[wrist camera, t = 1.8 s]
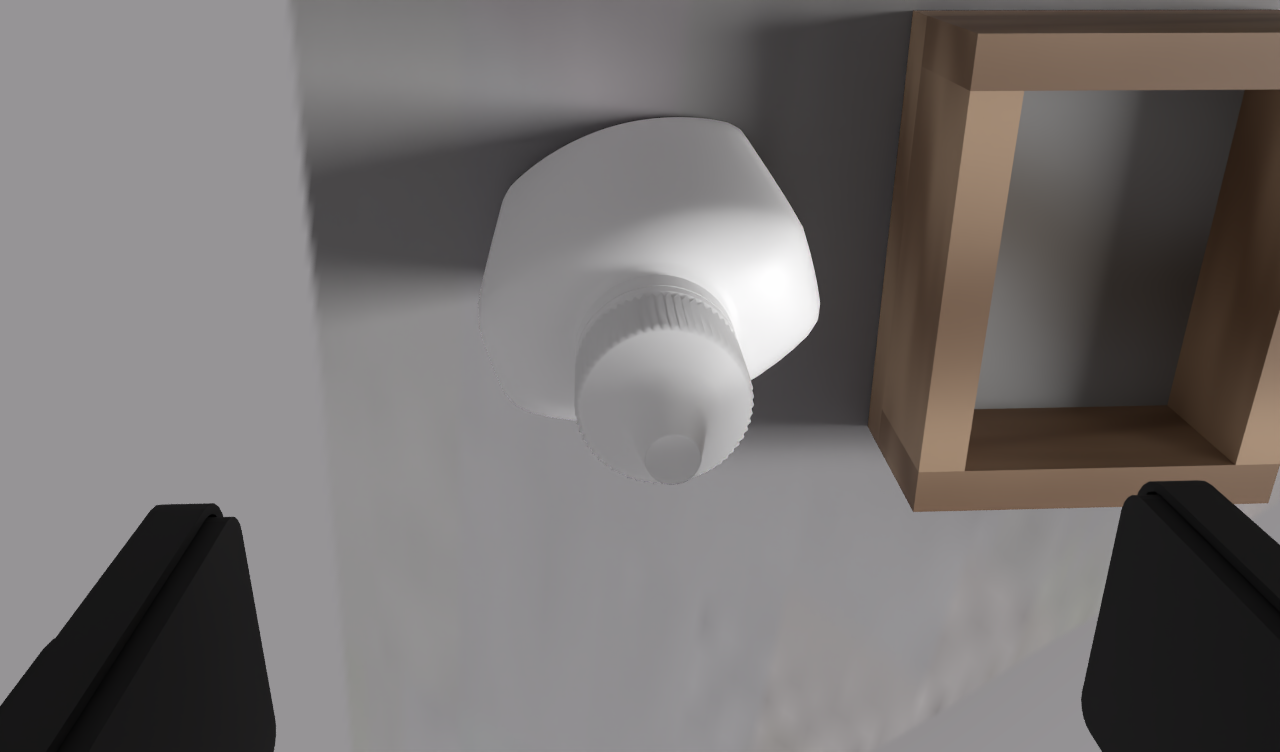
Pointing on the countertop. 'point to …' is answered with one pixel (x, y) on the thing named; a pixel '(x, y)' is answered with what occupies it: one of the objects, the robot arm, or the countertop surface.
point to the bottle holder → (1083, 259)
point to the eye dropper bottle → (647, 291)
